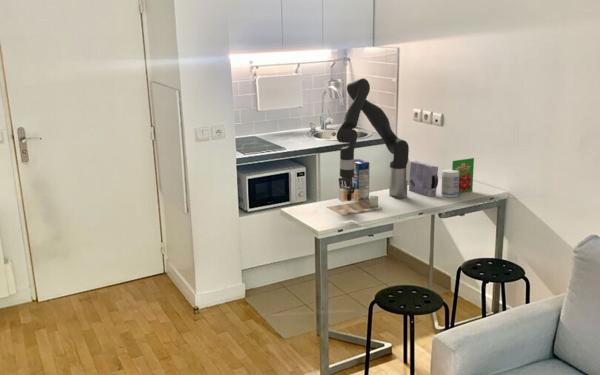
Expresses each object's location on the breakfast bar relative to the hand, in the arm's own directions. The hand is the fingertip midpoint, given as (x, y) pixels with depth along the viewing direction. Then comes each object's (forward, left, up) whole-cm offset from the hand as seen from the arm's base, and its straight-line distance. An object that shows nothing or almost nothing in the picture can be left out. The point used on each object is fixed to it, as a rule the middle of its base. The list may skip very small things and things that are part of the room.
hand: (346, 199), depth 339 cm
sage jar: (-16, +2, -6) cm, 17 cm away
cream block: (0, 0, -1) cm, 1 cm away
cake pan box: (-58, -13, -8) cm, 60 cm away
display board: (-6, -3, -8) cm, 10 cm away
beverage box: (-19, -20, -8) cm, 29 cm away
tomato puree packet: (-77, -2, -8) cm, 78 cm away
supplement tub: (-68, -1, -8) cm, 68 cm away
